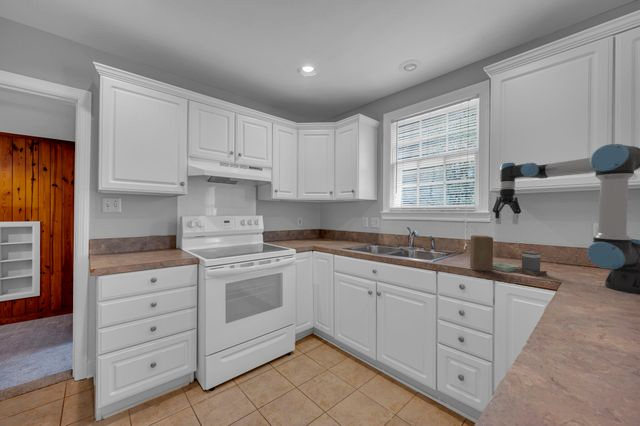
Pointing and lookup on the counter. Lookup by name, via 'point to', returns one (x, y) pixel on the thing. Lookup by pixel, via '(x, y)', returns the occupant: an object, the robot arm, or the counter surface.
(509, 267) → the tray
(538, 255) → the caddy
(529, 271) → the cradle
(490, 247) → the wooden block
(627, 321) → the counter surface
